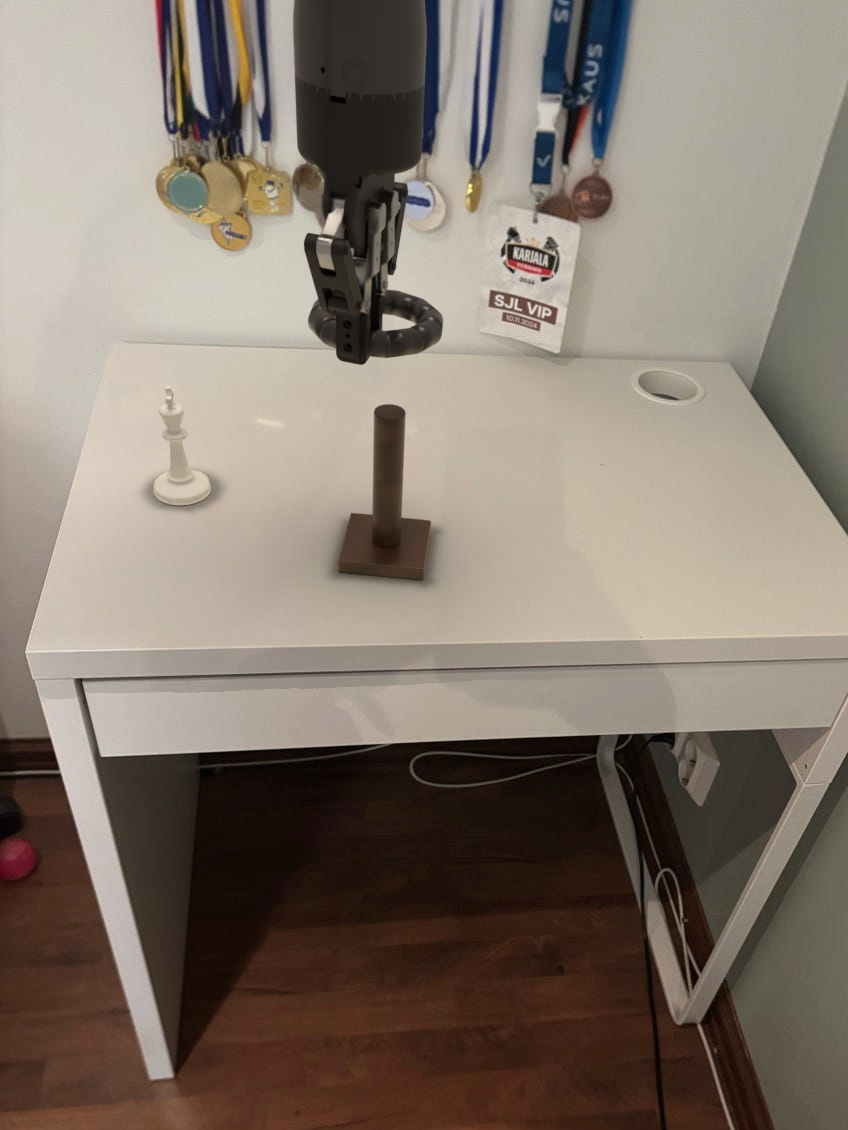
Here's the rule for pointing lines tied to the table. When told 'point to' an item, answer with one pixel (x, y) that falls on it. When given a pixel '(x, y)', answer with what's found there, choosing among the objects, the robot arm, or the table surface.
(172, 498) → the chess piece
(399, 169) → the robot arm
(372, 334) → the ring
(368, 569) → the peg stand
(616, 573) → the table surface
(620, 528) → the table surface
